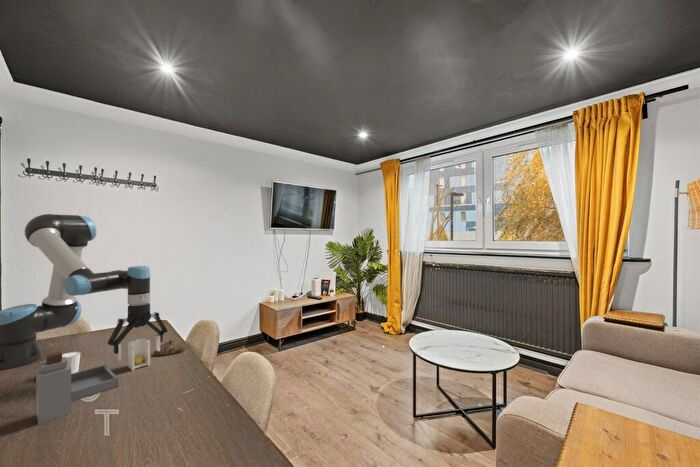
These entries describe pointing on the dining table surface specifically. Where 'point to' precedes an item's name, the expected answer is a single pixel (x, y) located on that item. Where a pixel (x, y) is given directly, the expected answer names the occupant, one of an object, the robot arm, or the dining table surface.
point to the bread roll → (170, 348)
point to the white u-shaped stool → (138, 353)
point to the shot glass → (73, 360)
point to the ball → (138, 359)
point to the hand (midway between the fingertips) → (139, 355)
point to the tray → (92, 382)
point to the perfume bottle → (53, 388)
